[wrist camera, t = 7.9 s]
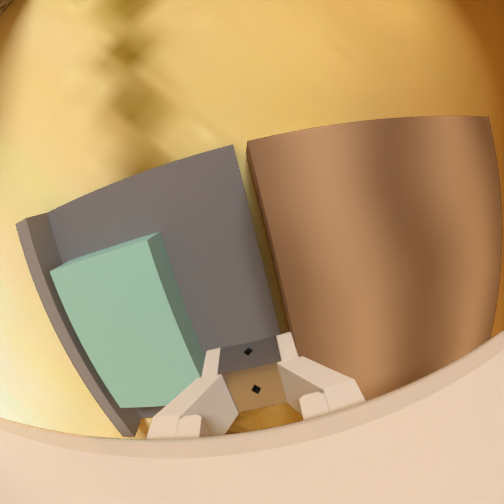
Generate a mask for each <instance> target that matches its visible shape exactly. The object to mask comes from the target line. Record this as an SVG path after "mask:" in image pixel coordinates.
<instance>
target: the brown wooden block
mask: <svg viewBox="0 0 504 504" xmlns="http://www.w3.org/2000/svg"><path fill="white" fill-rule="evenodd" d="M246 155H247V158H248V162H249V166H250V170H251V174H252V178H253V182H254V186H255V190H256V194H257V198H258V202H259V206H260V210H261V214H262V218H263V222H264V226H265V230H266V234H267V238H268V242H269V246H270V250H271V255H272V259H273V263H274V267H275V271H276V276H277V280H278V284H279V288H280V293H281V297H282V301H283V306H284V310H285V314H286V319H287V323H288V328H289V332H291V334H292V337H293V340H294V343H295V347H296V350H297V353H298V356H299V357H301V356H304V357H306V358H308V359H310V360H312V361H314V362H317V363H319V364H321V365H323V366H325V367H328V368H330V369H332V370H334V371H336V372H339V373H341V374H343V375H346V376H348V377H350V378H353V379H355V381H356V383H357V385H358V387H359V389H360V391H361V393H362V395H363V397H364V399H365V401H368V400H371V399H373V398H376V397H379V396H381V395H384V394H386V393H389V392H391V391H394V390H396V389H398V388H401V387H403V386H405V385H407V384H410V383H412V382H414V381H416V380H418V379H420V378H422V377H425V376H427V375H429V374H431V373H433V372H435V371H436V370H438V369H440V368H442V367H444V366H446V365H448V364H450V363H451V362H453V361H455V360H457V359H459V358H460V357H462V356H464V355H465V354H467V353H469V352H470V351H472V350H474V349H475V348H477V347H479V346H480V345H482V344H483V343H485V342H486V341H488V340H489V339H490V337H491V333H492V328H493V323H494V317H495V312H496V305H497V299H498V291H499V282H500V272H501V257H502V204H501V190H500V180H499V171H498V163H497V157H496V151H495V145H494V140H493V135H492V130H491V125H490V121H489V117H478V116H421V117H402V118H388V119H377V120H367V121H358V122H350V123H342V124H335V125H328V126H322V127H315V128H309V129H304V130H298V131H293V132H288V133H283V134H278V135H273V136H268V137H264V138H259V139H255V140H251V141H247V149H246Z"/></svg>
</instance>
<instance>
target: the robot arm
mask: <svg viewBox="0 0 504 504" xmlns="http://www.w3.org/2000/svg"><path fill="white" fill-rule="evenodd" d="M276 336H277V337H276ZM276 336H272V337H269V338H265V339H261V340H257V341H253V342H247V343H242V344H237V345H232V346H227V347H222V348H215V349H211V350H208V351H207V352H206V356H205V361H204V366H203V371H202V376H201V377H200V378H197V379H196V380H195V381H193V382H192V383H191V384H190V385H189V386H188V387H187V388H186V389H185V390H183V391H182V392H181V393H180V394H179V395H178V396H177V397H176V398H174V399H173V400H172V401H171V402H170V403H169V404H168V405H166V406H165V407H164V408H163V409H162V410H161V411H159V412H158V413H157V414H156V415H155V416H153V419H152V422H151V425H150V428H149V431H148V434H147V437H146V439H120V438H105V437H94V436H85V435H78V434H71V433H64V432H58V431H53V430H47V429H43V428H38V427H33V426H29V425H25V424H21V423H17V422H14V421H10V420H7V419H3V418H0V504H504V330H502V331H501V332H500V333H498V334H497V335H495V336H494V337H492V338H491V339H489V340H488V341H486V342H485V343H483V344H482V345H480V346H479V347H477V348H475V349H474V350H472V351H470V352H469V353H467V354H465V355H464V356H462V357H460V358H459V359H457V360H455V361H453V362H451V363H450V364H448V365H446V366H444V367H442V368H440V369H438V370H436V371H435V372H433V373H431V374H429V375H427V376H425V377H422V378H420V379H418V380H416V381H414V382H412V383H410V384H407V385H405V386H403V387H401V388H398V389H396V390H394V391H391V392H389V393H386V394H384V395H381V396H379V397H376V398H373V399H371V400H368V401H365V399H364V397H363V395H362V393H361V391H360V389H359V387H358V385H357V383H356V381H355V379H353V378H350V377H348V376H346V375H343V374H341V373H339V372H336V371H334V370H332V369H330V368H328V367H325V366H323V365H321V364H319V363H317V362H314V361H312V360H310V359H308V358H306V357H304V356H301V357H299V356H298V353H297V350H296V347H295V343H294V340H293V337H292V334H291V332H286V333H283V334H280V335H276ZM284 403H288V404H289V405H290V406H291V407H293V408H294V409H295V410H296V411H298V412H299V413H300V414H301V415H303V419H304V420H303V421H299V422H294V423H290V424H286V425H281V426H276V427H271V428H266V429H261V430H255V431H249V432H243V433H236V434H228V435H225V433H226V432H227V430H228V429H229V427H230V426H231V424H232V423H233V421H234V420H235V418H236V417H237V415H238V414H239V413H238V412H243V411H248V410H253V409H258V408H262V407H268V406H273V405H279V404H284Z"/></svg>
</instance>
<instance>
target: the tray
mask: <svg viewBox="0 0 504 504" xmlns="http://www.w3.org/2000/svg"><path fill="white" fill-rule="evenodd" d="M16 227H17V231H18V235H19V239H20V242H21V245H22V249H23V252H24V255H25V258H26V261H27V264H28V267H29V270H30V273H31V276H32V279H33V281H34V284H35V286H36V289H37V292H38V294H39V297H40V299H41V301H42V304H43V306H44V308H45V311H46V313H47V315H48V317H49V319H50V322H51V324H52V326H53V328H54V330H55V332H56V334H57V336H58V338H59V340H60V342H61V344H62V346H63V347H64V349H65V351H66V353H67V355H68V357H69V358H70V360H71V362H72V364H73V365H74V367H75V369H76V370H77V372H78V374H79V375H80V377H81V379H82V380H83V382H84V383H85V385H86V387H87V388H88V390H89V391H90V393H91V394H92V396H93V397H94V399H95V400H96V401H97V403H98V404H99V406H100V407H101V409H102V410H103V411H104V413H105V414H106V415H107V417H108V418H109V419H110V421H111V422H112V423H113V425H114V426H115V427H116V428H117V430H118V431H119V432H120V433H121V435H122V436H123V437H135V435H136V432H137V429H138V426H139V424H140V421H141V418H147V417H153V416H155V415H156V414H157V413H158V412H159V411H161V410H162V409H163V408H164V407H165V406H156V407H134V408H120V407H119V405H118V404H117V402H116V401H115V399H114V398H113V396H112V395H111V393H110V392H109V390H108V389H107V387H106V385H105V384H104V382H103V381H102V379H101V377H100V376H99V374H98V372H97V371H96V369H95V367H94V366H93V364H92V362H91V360H90V359H89V357H88V355H87V353H86V351H85V349H84V348H83V346H82V344H81V342H80V340H79V338H78V336H77V334H76V332H75V330H74V328H73V326H72V324H71V322H70V319H69V317H68V315H67V313H66V311H65V308H64V306H63V304H62V302H61V299H60V297H59V294H58V292H57V289H56V287H55V284H54V282H53V279H52V276H51V274H50V271H52V270H53V269H55V268H57V267H59V266H61V265H62V264H64V263H66V262H68V261H70V260H73V259H76V258H78V257H81V256H84V255H87V254H90V253H93V252H96V251H99V250H102V249H105V248H109V247H112V246H115V245H118V244H121V243H124V242H127V241H131V240H134V239H137V238H140V237H144V236H147V235H150V234H153V233H157V232H160V233H161V236H162V239H163V242H164V245H165V249H166V252H167V255H168V258H169V261H170V264H171V267H172V270H173V273H174V276H175V279H176V282H177V284H178V287H179V290H180V293H181V296H182V298H183V301H184V304H185V307H186V309H187V312H188V315H189V317H190V320H191V322H192V325H193V328H194V330H195V333H196V335H197V338H198V340H199V343H200V345H201V348H202V350H203V352H204V355H205V356H206V352H207V351H208V350H211V349H215V348H222V347H227V346H232V345H237V344H242V343H247V342H253V341H257V340H261V339H265V338H269V337H272V336H276V335H280V334H281V333H280V329H279V325H278V321H277V317H276V313H275V309H274V305H273V301H272V297H271V293H270V289H269V285H268V281H267V277H266V272H265V268H264V264H263V260H262V256H261V253H260V249H259V245H258V241H257V237H256V233H255V229H254V225H253V221H252V217H251V213H250V209H249V205H248V201H247V197H246V193H245V189H244V186H243V182H242V178H241V174H240V170H239V166H238V162H237V158H236V155H235V151H234V147H233V145H229V146H226V147H222V148H218V149H214V150H211V151H207V152H204V153H200V154H197V155H194V156H190V157H187V158H184V159H181V160H177V161H174V162H171V163H168V164H165V165H162V166H159V167H156V168H153V169H150V170H148V171H145V172H142V173H139V174H136V175H134V176H131V177H128V178H126V179H123V180H121V181H118V182H115V183H113V184H110V185H108V186H106V187H103V188H101V189H98V190H96V191H94V192H91V193H89V194H87V195H84V196H82V197H80V198H78V199H75V200H73V201H71V202H69V203H67V204H65V205H62V206H60V207H58V208H56V209H54V210H52V211H50V212H48V213H45V214H40V215H37V216H33V217H29V218H25V219H24V220H22V221H20V222H18V223H17V224H16ZM276 337H277V336H276Z"/></svg>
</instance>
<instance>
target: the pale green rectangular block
mask: <svg viewBox="0 0 504 504" xmlns="http://www.w3.org/2000/svg"><path fill="white" fill-rule="evenodd" d="M50 274H51V276H52V279H53V282H54V284H55V287H56V289H57V292H58V294H59V297H60V299H61V302H62V304H63V306H64V308H65V311H66V313H67V315H68V317H69V319H70V322H71V324H72V326H73V328H74V330H75V332H76V334H77V336H78V338H79V340H80V342H81V344H82V346H83V348H84V349H85V351H86V353H87V355H88V357H89V359H90V360H91V362H92V364H93V366H94V367H95V369H96V371H97V372H98V374H99V376H100V377H101V379H102V381H103V382H104V384H105V385H106V387H107V389H108V390H109V392H110V393H111V395H112V396H113V398H114V399H115V401H116V402H117V404H118V405H119V407H120V408H134V407H156V406H166V405H168V404H169V403H170V402H171V401H172V400H173V399H174V398H176V397H177V396H178V395H179V394H180V393H181V392H182V391H183V390H185V389H186V388H187V387H188V386H189V385H190V384H191V383H192V382H193V381H195V380H196V379H197V378H200V377H201V376H202V371H203V366H204V361H205V355H204V352H203V350H202V348H201V345H200V343H199V340H198V338H197V335H196V333H195V330H194V328H193V325H192V322H191V320H190V317H189V315H188V312H187V309H186V307H185V304H184V301H183V298H182V296H181V293H180V290H179V287H178V284H177V282H176V279H175V276H174V273H173V270H172V267H171V264H170V261H169V258H168V255H167V252H166V249H165V245H164V242H163V239H162V236H161V233H160V232H157V233H153V234H150V235H147V236H144V237H140V238H137V239H134V240H131V241H127V242H124V243H121V244H118V245H115V246H112V247H109V248H105V249H102V250H99V251H96V252H93V253H90V254H87V255H84V256H81V257H78V258H76V259H73V260H70V261H68V262H66V263H64V264H62V265H61V266H59V267H57V268H55V269H53V270H52V271H50Z"/></svg>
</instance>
